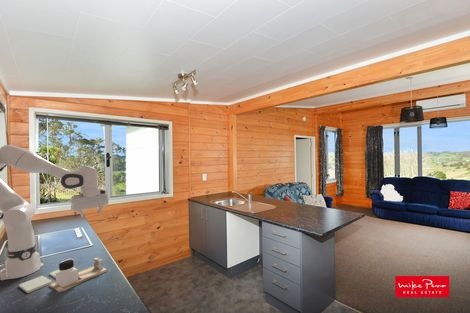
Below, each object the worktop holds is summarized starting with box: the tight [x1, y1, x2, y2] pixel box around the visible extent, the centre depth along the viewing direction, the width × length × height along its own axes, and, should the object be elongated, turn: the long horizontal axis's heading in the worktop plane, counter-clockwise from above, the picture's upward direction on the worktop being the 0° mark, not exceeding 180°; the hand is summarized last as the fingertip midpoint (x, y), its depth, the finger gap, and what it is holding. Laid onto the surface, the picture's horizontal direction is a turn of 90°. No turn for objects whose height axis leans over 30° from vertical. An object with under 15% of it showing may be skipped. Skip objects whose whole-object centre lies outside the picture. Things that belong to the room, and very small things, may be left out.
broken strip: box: [18, 257, 80, 294], centre depth 124 cm, size 12×22×6 cm, turn 148°
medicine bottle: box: [55, 258, 79, 288], centre depth 118 cm, size 7×7×12 cm
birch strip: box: [48, 257, 108, 293], centre depth 123 cm, size 12×22×6 cm, turn 148°
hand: (91, 215), depth 141 cm, fingers open, 8 cm apart
